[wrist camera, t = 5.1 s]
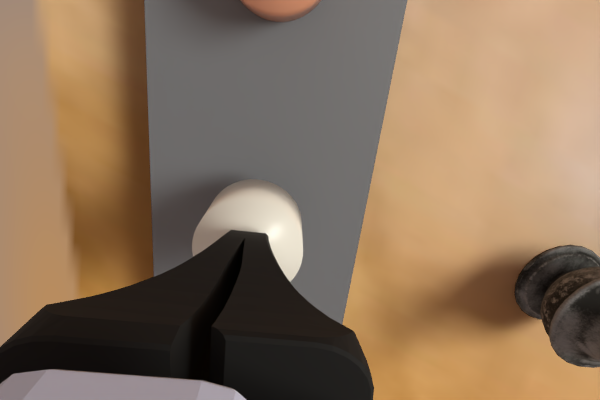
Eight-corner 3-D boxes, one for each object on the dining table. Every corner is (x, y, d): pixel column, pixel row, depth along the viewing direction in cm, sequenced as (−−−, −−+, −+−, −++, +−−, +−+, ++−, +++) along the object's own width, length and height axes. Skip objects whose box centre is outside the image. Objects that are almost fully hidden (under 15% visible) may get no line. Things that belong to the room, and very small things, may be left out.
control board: (334, 307, 21) (339, 336, 19) (171, 292, 20) (155, 320, 18) (432, -217, 13) (464, -282, 10) (163, -265, 12) (132, -346, 10)
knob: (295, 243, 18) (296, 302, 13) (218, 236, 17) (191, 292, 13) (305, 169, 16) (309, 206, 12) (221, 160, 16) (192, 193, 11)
